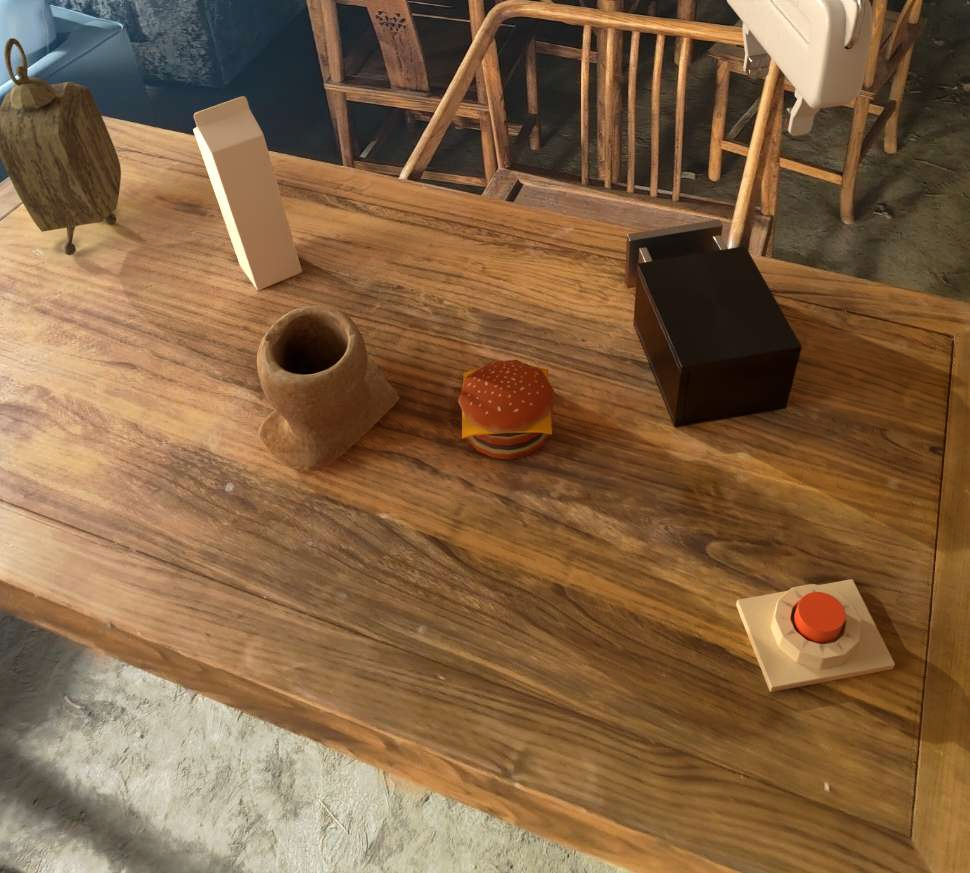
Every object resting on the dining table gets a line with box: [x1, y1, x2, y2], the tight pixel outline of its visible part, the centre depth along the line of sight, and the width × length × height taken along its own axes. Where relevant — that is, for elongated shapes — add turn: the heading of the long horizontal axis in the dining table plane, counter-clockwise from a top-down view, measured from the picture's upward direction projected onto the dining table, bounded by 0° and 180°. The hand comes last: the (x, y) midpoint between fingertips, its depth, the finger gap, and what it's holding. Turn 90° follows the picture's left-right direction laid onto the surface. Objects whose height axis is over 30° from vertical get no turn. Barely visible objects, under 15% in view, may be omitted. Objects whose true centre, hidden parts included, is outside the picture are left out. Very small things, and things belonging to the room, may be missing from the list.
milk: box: [192, 95, 303, 291], centre depth 106 cm, size 6×6×22 cm
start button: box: [794, 592, 846, 643], centre depth 73 cm, size 4×4×2 cm
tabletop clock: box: [0, 37, 122, 256], centre depth 113 cm, size 14×9×25 cm, turn 10°
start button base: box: [735, 579, 896, 693], centre depth 75 cm, size 10×8×4 cm
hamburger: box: [457, 359, 556, 460], centre depth 92 cm, size 9×10×7 cm
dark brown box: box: [632, 245, 803, 428], centre depth 95 cm, size 16×12×9 cm
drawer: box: [624, 218, 729, 290], centre depth 100 cm, size 16×10×7 cm, turn 9°
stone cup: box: [256, 304, 400, 472], centre depth 90 cm, size 15×12×15 cm
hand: (774, 101), depth 79 cm, fingers open, 8 cm apart
